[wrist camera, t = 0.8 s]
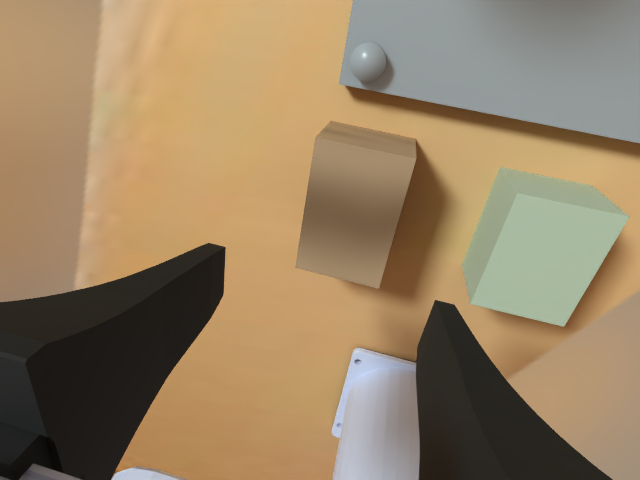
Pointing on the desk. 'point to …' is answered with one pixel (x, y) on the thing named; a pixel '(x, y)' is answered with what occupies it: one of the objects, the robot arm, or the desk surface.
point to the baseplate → (505, 58)
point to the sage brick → (539, 245)
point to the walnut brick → (354, 202)
